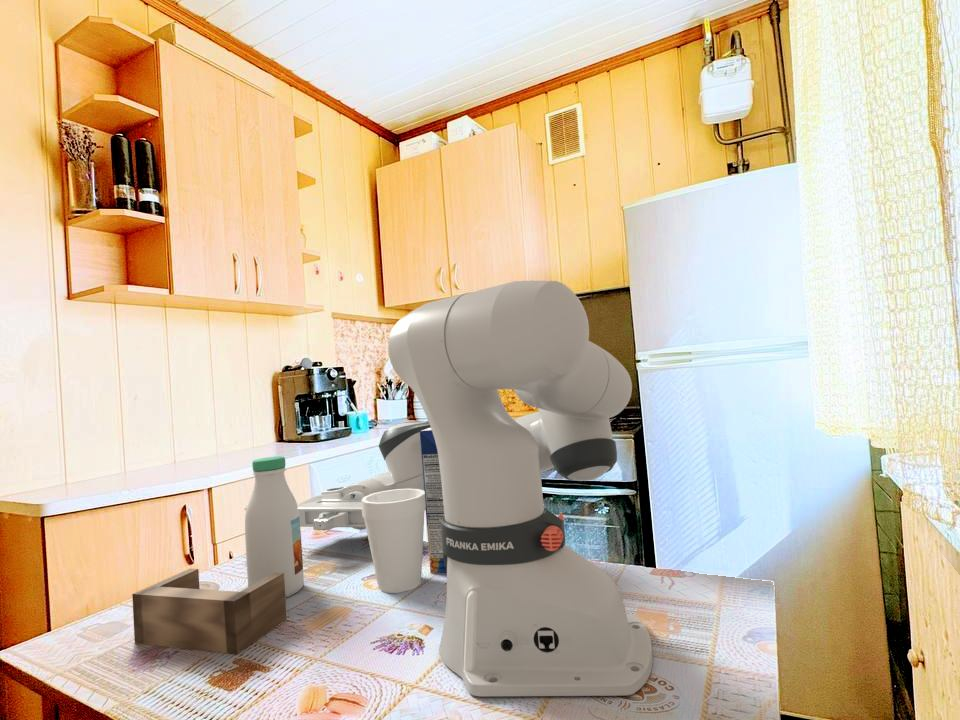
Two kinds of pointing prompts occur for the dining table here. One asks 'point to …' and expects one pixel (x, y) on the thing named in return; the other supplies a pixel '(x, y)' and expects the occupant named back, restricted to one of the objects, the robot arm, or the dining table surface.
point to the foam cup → (396, 537)
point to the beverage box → (433, 499)
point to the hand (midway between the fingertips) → (320, 525)
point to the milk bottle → (273, 527)
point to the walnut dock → (207, 613)
